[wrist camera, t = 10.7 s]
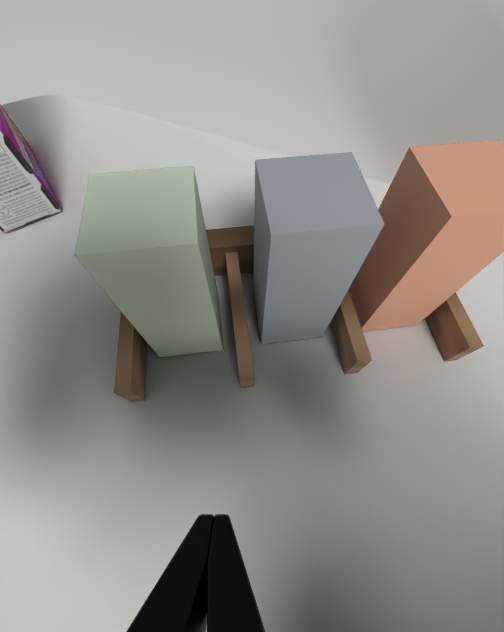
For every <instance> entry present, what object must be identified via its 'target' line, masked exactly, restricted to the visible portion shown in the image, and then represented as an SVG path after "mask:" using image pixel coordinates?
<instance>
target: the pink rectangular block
mask: <svg viewBox="0 0 504 632" xmlns="http://www.w3.org/2000/svg"><path fill="white" fill-rule="evenodd" d="M378 211H379V213H380V215H381V217H382V219H383V222H384V226H383V228H382V230H381V231H380V233H379V235H378V237H377V239H376V240H375V242H374V244H373V246H372V248H371V249H370V251H369V253H368V255H367V257H366V258H365V260H364V262H363V264H362V266H361V267H360V269H359V271H358V273H357V275H356V277H355V278H354V280H353V282H352V284H351V286H350V287H349V289H348V290H349V293H350V296H351V299H352V302H353V305H354V308H355V311H356V314H357V317H358V320H359V323H360V326H361V329H362V332H364V331H373V330H381V329H389V328H398V327H406V326H414V325H417V324H419V323H420V322H421V321H422V320H423V319H425V318H426V317H427V316H428V315H429V314H430V313H432V312H433V311H434V310H435V309H436V308H438V307H439V306H440V305H441V304H442V303H443V302H445V301H446V300H447V299H448V298H449V297H450V296H452V295H453V294H454V293H455V292H456V291H458V290H459V289H460V288H461V287H462V286H463V285H465V284H466V283H467V282H468V281H469V280H471V279H472V278H473V277H474V276H475V275H476V274H478V273H479V272H480V271H481V270H482V269H483V268H485V267H486V266H487V265H488V264H489V263H491V262H492V261H493V260H494V259H495V258H496V257H498V256H499V255H500V254H501V253H502V252H504V145H503V143H502V142H501V141H500V140H492V141H479V142H467V143H454V144H442V145H429V146H416V147H409V149H408V151H407V153H406V155H405V157H404V159H403V161H402V163H401V165H400V167H399V169H398V171H397V173H396V175H395V177H394V179H393V181H392V183H391V185H390V187H389V189H388V191H387V193H386V195H385V197H384V199H383V201H382V203H381V205H380V207H379V209H378Z"/></svg>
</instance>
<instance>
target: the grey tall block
mask: <svg viewBox="0 0 504 632" xmlns="http://www.w3.org/2000/svg"><path fill="white" fill-rule="evenodd" d="M383 226H384V222H383V219H382V217H381V215H380V213H379V211H378V208H377V206H376V204H375V202H374V200H373V198H372V195H371V193H370V191H369V189H368V187H367V184H366V182H365V180H364V178H363V176H362V173H361V171H360V169H359V167H358V165H357V162H356V160H355V158H354V156H353V154H352V152H348V153H335V154H323V155H310V156H298V157H285V158H273V159H260V160H255V219H254V283H253V293H254V299H255V306H256V312H257V319H258V325H259V332H260V338H261V344H269V343H277V342H285V341H294V340H302V339H310V338H318V337H322V336H323V334H324V333H325V331H326V329H327V327H328V325H329V324H330V322H331V320H332V318H333V316H334V314H335V313H336V311H337V309H338V307H339V305H340V304H341V302H342V300H343V298H344V296H345V295H346V293H347V291H348V289H349V287H350V286H351V284H352V282H353V280H354V278H355V277H356V275H357V273H358V271H359V269H360V267H361V266H362V264H363V262H364V260H365V258H366V257H367V255H368V253H369V251H370V249H371V248H372V246H373V244H374V242H375V240H376V239H377V237H378V235H379V233H380V231H381V230H382V228H383Z"/></svg>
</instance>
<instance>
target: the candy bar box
mask: <svg viewBox="0 0 504 632" xmlns="http://www.w3.org/2000/svg"><path fill="white" fill-rule="evenodd" d="M61 211H62V209H61V207H60V205H59V203H58V201H57V199H56V197H55V195H54V193H53V191H52V189H51V187H50V185H49V183H48V182H47V180H46V178H45V176H44V174H43V172H42V170H41V168H40V166H39V164H38V162H37V160H36V158H35V156H34V154H33V152H32V150H31V148H30V146H29V144H28V142H27V141H26V140H25V138H24V137H23V136H22V134H21V133H20V132H19V130H18V129H17V127H16V126H15V124H14V123H13V122H12V120H11V119H10V117H9V116H8V114H7V113H6V112H5V110H4V109H3V107H2V106H1V105H0V229H1V230H2V231H3V232H4V233H8V232H12V231H15V230H18V229H21V228H23V227H25V226H27V225H29V224H32V223H34V222H37V221H39V220H41V219H44V218H47V217H49V216H52V215H54V214H57V213H59V212H61Z"/></svg>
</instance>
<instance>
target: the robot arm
mask: <svg viewBox="0 0 504 632" xmlns="http://www.w3.org/2000/svg"><path fill="white" fill-rule="evenodd" d="M206 626H207V632H265V629H264V626H263V623H262V619H261V616H260V613H259V610H258V607H257V604H256V600H255V597H254V594H253V591H252V588H251V584H250V581H249V578H248V575H247V572H246V568H245V565H244V562H243V559H242V556H241V552H240V549H239V546H238V543H237V540H236V536H235V533H234V530H233V527H232V524H231V520H230V517H229V516H228V515H227V514H217V515H215V516H213V515H212V514H202V515H199V516H198V518H197V519H196V521H195V523H194V524H193V526H192V527H191V529H190V531H189V532H188V534H187V535H186V537H185V539H184V540H183V542H182V543H181V545H180V547H179V548H178V550H177V551H176V553H175V555H174V556H173V558H172V559H171V561H170V563H169V564H168V566H167V567H166V569H165V571H164V572H163V574H162V575H161V577H160V579H159V580H158V582H157V584H156V585H155V587H154V588H153V590H152V592H151V593H150V595H149V596H148V598H147V600H146V601H145V603H144V604H143V606H142V608H141V609H140V611H139V612H138V614H137V616H136V617H135V619H134V620H133V622H132V624H131V625H130V627H129V628H128V630H127V632H206Z"/></svg>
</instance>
